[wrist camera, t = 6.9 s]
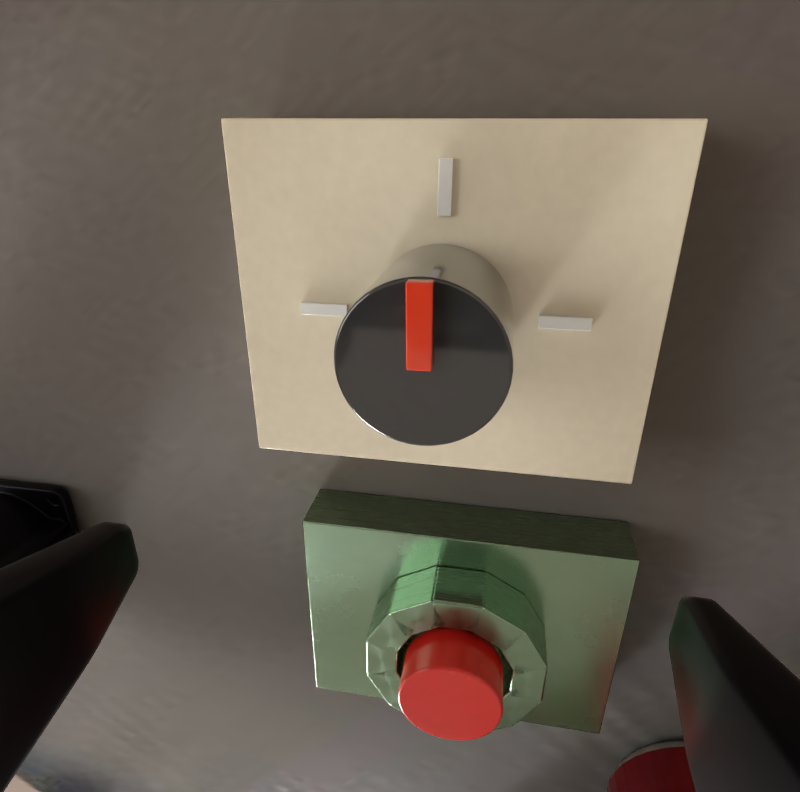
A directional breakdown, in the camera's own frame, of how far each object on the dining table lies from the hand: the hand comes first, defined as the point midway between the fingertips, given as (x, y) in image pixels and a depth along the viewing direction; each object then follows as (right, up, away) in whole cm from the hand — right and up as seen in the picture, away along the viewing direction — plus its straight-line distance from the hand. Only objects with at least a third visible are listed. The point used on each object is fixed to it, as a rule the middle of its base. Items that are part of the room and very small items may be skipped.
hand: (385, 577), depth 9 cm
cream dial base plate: (+2, +6, +10) cm, 12 cm away
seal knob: (+1, +5, +7) cm, 9 cm away
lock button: (+2, -7, +12) cm, 14 cm away
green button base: (+3, -5, +15) cm, 16 cm away
